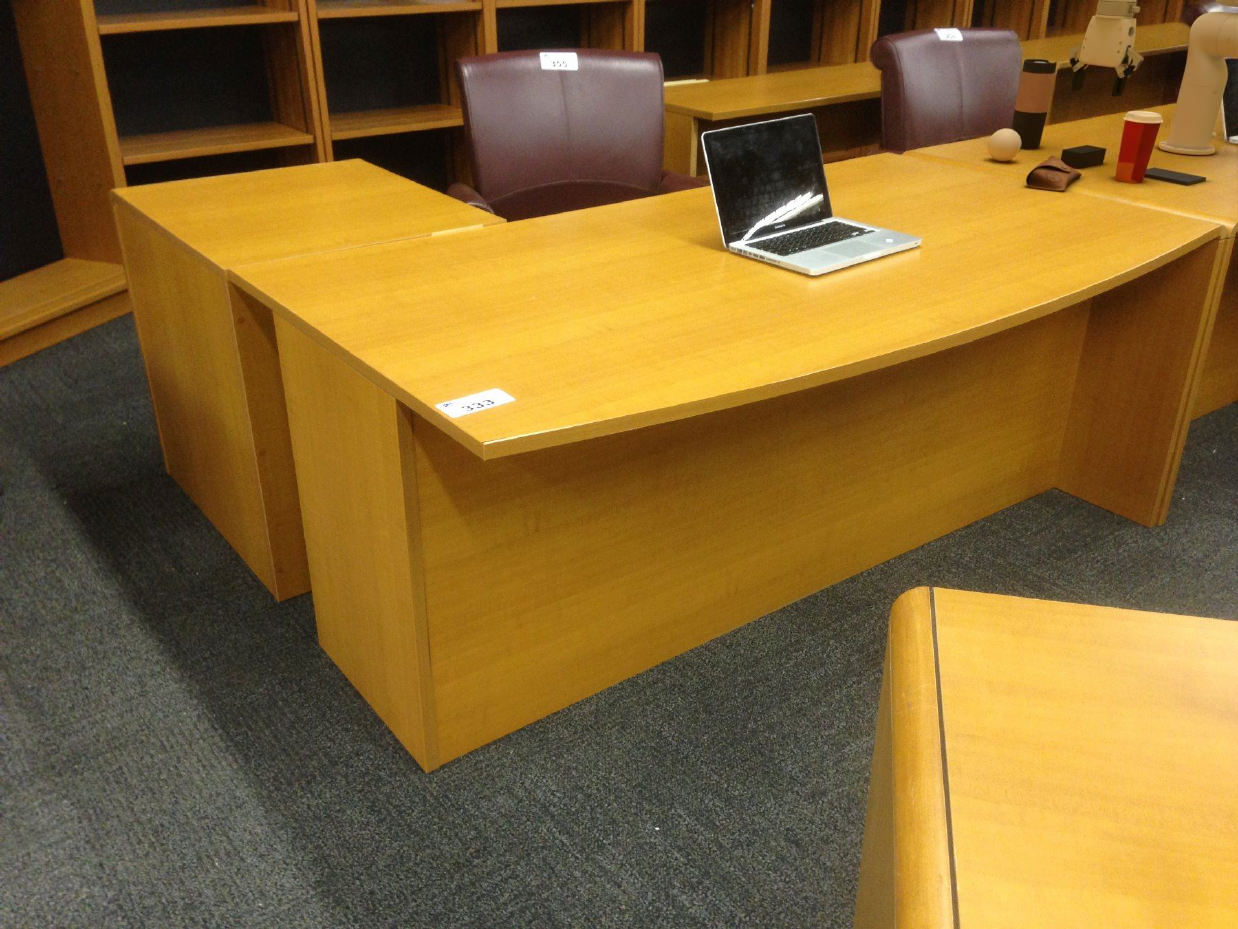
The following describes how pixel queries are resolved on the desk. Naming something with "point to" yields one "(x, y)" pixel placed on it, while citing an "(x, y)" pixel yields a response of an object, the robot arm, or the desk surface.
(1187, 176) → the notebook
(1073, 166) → the black block
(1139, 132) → the paper cup
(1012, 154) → the cream ovoid piece
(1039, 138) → the travel mug
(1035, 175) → the sunglasses case
